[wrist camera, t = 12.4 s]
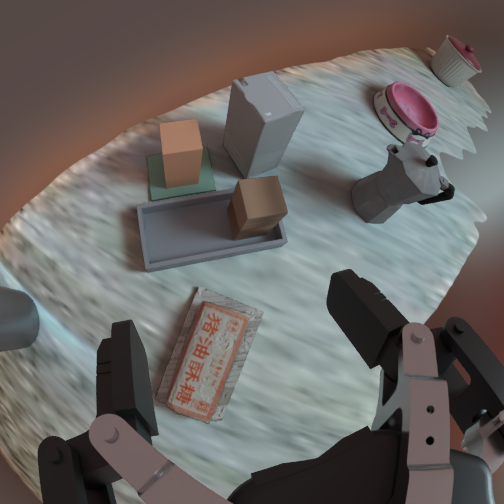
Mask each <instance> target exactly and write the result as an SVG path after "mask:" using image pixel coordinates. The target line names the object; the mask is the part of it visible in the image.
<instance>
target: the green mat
mask: <svg viewBox="0 0 504 504" xmlns="http://www.w3.org/2000/svg"><path fill="white" fill-rule="evenodd" d="M147 162H148V172H149V182H150V191H151V199H152V201H157V200H163V199H169V198H174V197H180V196H186V195H192V194H199V193H205V192H212V191H216V187H215V183H214V178H213V173H212V168H211V163H210V159H209V154H208V149H207V147H203V152H202V160H201V168H200V176H199V184H193V185H187V186H180V187H174V188H169V189H167V187H166V180H165V173H164V165H163V156H162V153H161V154H155V155H149V156H147Z"/></svg>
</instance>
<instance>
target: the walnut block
mask: <svg viewBox="0 0 504 504" xmlns="http://www.w3.org/2000/svg"><path fill="white" fill-rule="evenodd" d="M227 212H228V217H229V221H230V225H231V230H232V234H233V239H234V241H237V240H242V239H248V238H253V237H259V236H265V235H267V234H268V233H269V232H270V231H271V230H272V229H273V228H274V227H275V226H276V225H277V224H278V223H279V221H280V220H281V219H282V218H283V217H284V216H285V215H286V214H287V213H288V211H287V207H286V204H285V200H284V197H283V193H282V190H281V186H280V183H279V180H278V176H269V177H260V178H251V179H242V180H238V182H237V185H236V187H235V190H234V193H233V195H232V198H231V200H230V203H229V205H228V208H227Z"/></svg>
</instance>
